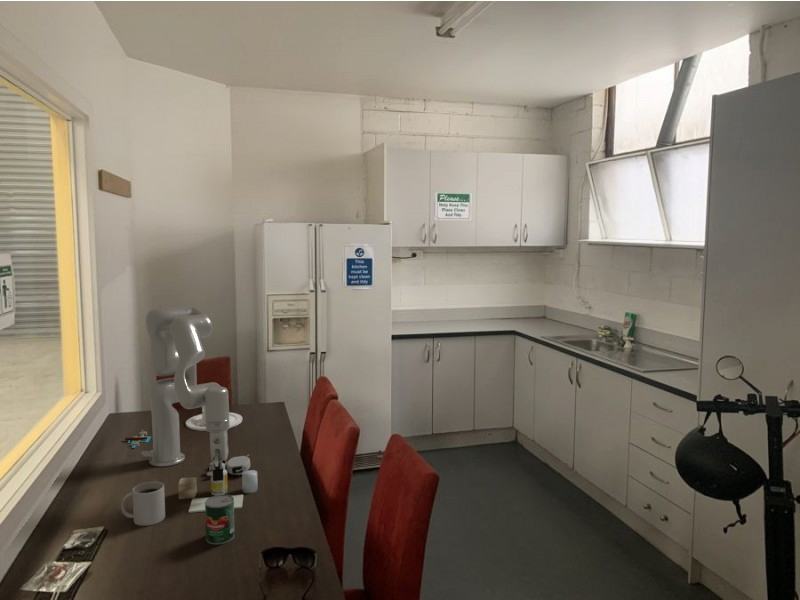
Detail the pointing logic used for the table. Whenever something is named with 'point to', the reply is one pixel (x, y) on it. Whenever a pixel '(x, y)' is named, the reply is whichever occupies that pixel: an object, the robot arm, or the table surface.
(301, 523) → the table surface
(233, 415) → the dish
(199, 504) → the sage mat
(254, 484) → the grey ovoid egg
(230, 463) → the robot toy
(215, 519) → the canned tomato
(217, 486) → the supplement bottle
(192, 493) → the birch block
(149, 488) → the mug
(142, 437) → the gear mechanism
